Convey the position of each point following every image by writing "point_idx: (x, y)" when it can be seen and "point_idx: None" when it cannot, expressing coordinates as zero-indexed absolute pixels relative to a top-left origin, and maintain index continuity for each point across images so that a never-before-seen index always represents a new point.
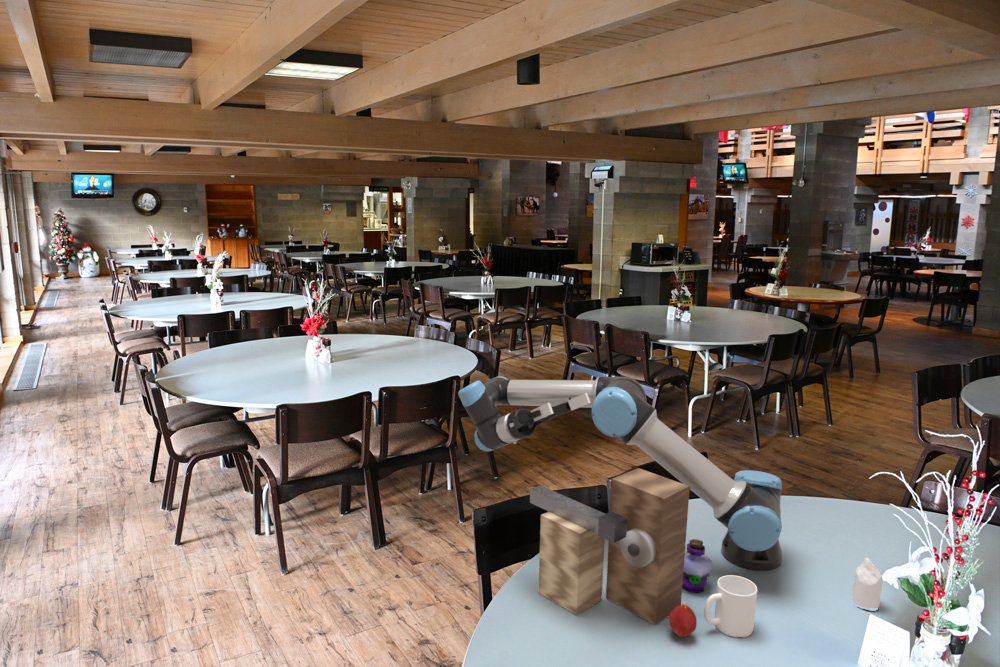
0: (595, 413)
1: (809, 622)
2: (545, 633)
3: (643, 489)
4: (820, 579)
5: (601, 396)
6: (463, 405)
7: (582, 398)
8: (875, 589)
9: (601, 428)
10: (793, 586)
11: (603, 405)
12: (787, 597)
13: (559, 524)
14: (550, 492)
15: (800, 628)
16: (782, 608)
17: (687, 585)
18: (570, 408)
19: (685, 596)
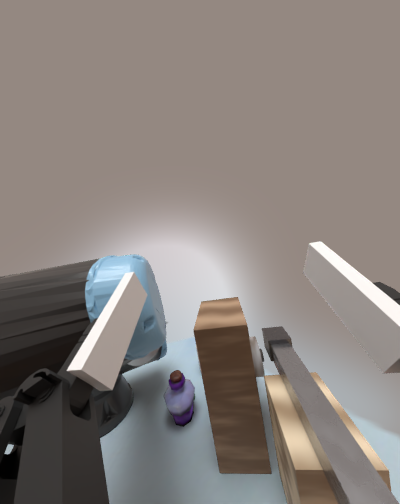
0: (154, 311)
1: (180, 352)
2: (392, 475)
3: (237, 306)
4: None
5: (140, 268)
6: None
7: (132, 294)
8: None
9: (164, 334)
10: (146, 371)
11: (150, 284)
12: (161, 367)
13: (343, 410)
14: (344, 464)
15: (188, 352)
16: (174, 364)
17: (192, 409)
18: (85, 405)
19: (201, 409)
